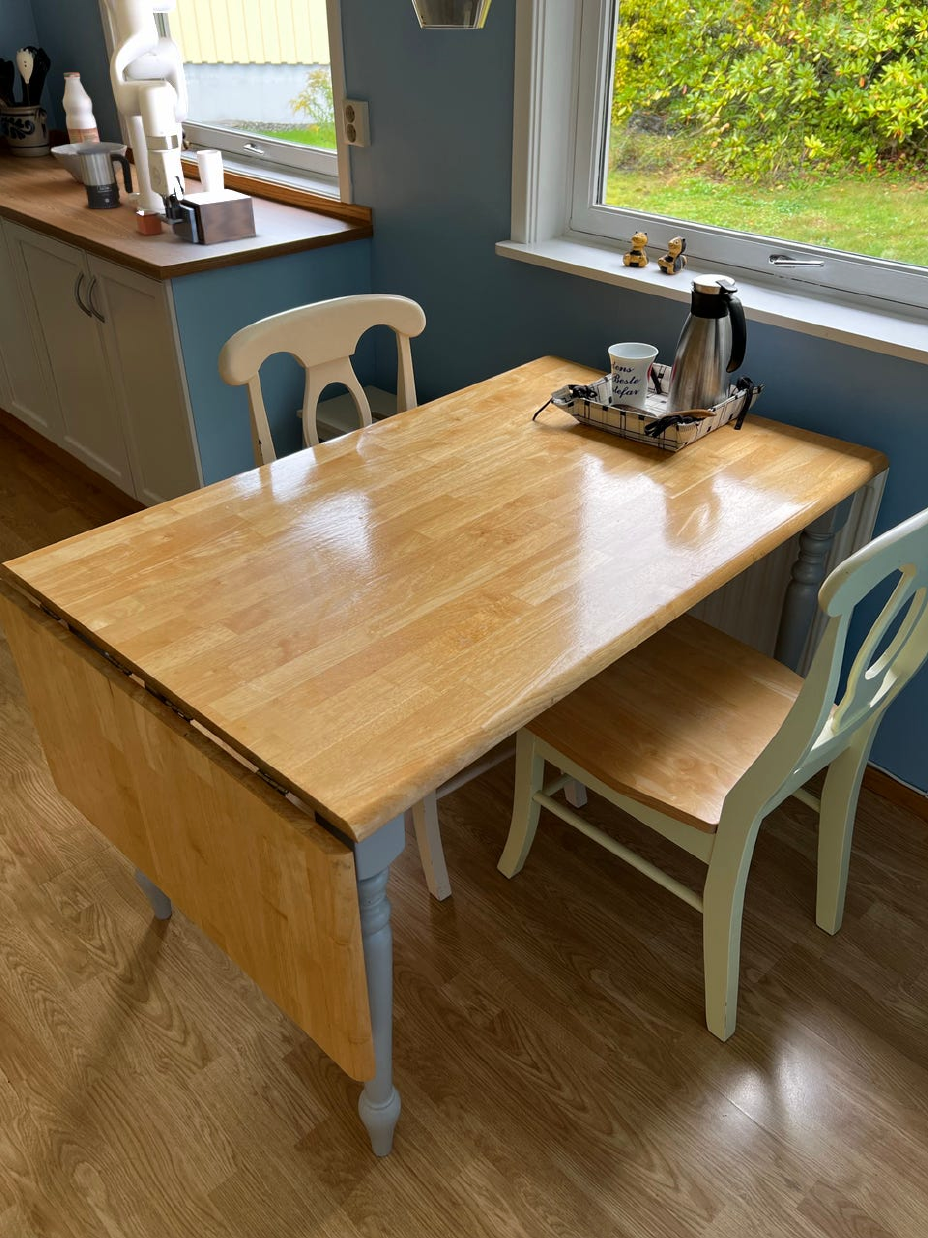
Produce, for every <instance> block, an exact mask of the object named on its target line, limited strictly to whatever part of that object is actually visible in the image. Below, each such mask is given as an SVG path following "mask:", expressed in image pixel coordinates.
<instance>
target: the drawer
mask: <svg viewBox="0 0 928 1238" xmlns="http://www.w3.org/2000/svg"><path fill="white" fill-rule="evenodd" d="M180 214H181V219H176V220H173V219H170V218H168V217H166V214H157V215H156V219H157V220H158V221H161V223H163V224H165V225H169V226H171V227H172V233H173V235H175V236H177V237H179V238H182V239H185V240H187V241H189V242H191V243H194V244H195V243H199V242H198V238H200V239H203V235H202V228H201V221H200V214H199V207H196V206H193V205H190V204H188V203H185V202H180ZM177 222H182V223H181V224H175V225H173V224H174V223H177Z"/></svg>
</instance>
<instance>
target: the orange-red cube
mask: <svg viewBox="0 0 928 1238" xmlns="http://www.w3.org/2000/svg"><path fill="white" fill-rule="evenodd" d="M134 214H135V218H136V224H137V230H138V233H140V234H143V235H145V236H151V235H157V234H163V226H162V222H161V221H158V220H157V219H156V215H157V214H160V213H159V212H157V211H154V210H146V211H139V212H138V211H135V212H134ZM160 215H161V214H160Z"/></svg>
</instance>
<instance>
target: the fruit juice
mask: <svg viewBox="0 0 928 1238" xmlns="http://www.w3.org/2000/svg"><path fill="white" fill-rule="evenodd" d="M63 77H64V80H65V86H64V94H63V99H62V106H63V108H64V111H65V113H66V116H65V123H66V128H67V132H68V138H69V143H70V144H76V143H84V142H100V137H99V132H98V126H97V122H96V118H95V115H94V114H93V102H92V99H91V97H90V96H89V95H88V94H87V91H86V90H85V89H84V86H83V84H82V83H81V75H80V73H79V72H74V71H73V72H72V71H71V72H64V73H63Z"/></svg>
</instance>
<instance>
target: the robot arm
mask: <svg viewBox="0 0 928 1238" xmlns="http://www.w3.org/2000/svg"><path fill="white" fill-rule="evenodd" d="M103 2H104V4H105V6H106V8H107V11H108V12H109V15H110V18H111V21H112V26H113V32H114V33H113V34H114V39H115V44H116V45H115V46H116V48H115V49H114V51H113V53H112V56H111V59H110V65H109V74H110V81H111V86H112V91H113V96H114V100H115V104H116V107H117V110H118V111H119V113H120V114H122V116H123V117H124V119H125V122H126V126H127V130H128V135H129V140H130V145H131V150H132V156H133V162H134V168H135V173H136V174H135V175H136V180H137V184H138V191H139V192H137V193H134V192H133V193H130V194H128V200H129V202H132V203H133V202H136V203H137V205H136V212H139V211H146V210H154V211H157V212H159V213H160V215H166V217H168V218H170V219H173V220H176V219H181V214H180V201H182V200H183V199H182V196H183V195H185V194H186V193H185V192H186V188H185V187H186V185H185V178H184V174H183V169H182V163H181V157H180V158H179V154H178V151H177V150H179V145H178V138H177V132H176V125H175V123H179V122H181V123H183V122H186V121H187V120H188V118H189V113H190V112H189V111H190V110H189V102H188V101H189V100H188V93H187V87H186V79H185V72H184V67H183V60H182V54H181V50H180V48H179V45H178V43H177V42H176V41H175V39H173V38H172V37H168V36H159V35H158V30H157V26H156V22H155V17H154V14H155V13H172V12H173V11H174V10H175V8H176V0H103ZM123 75H125V76H126V77H128V78H129V79H137V80H126V81H125V80H124V78H123ZM139 79H140V80H139ZM141 79H142V80H141ZM144 79H165V80H144ZM181 223H182V222H177V223H174V224H173V225H175V224H181Z"/></svg>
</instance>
